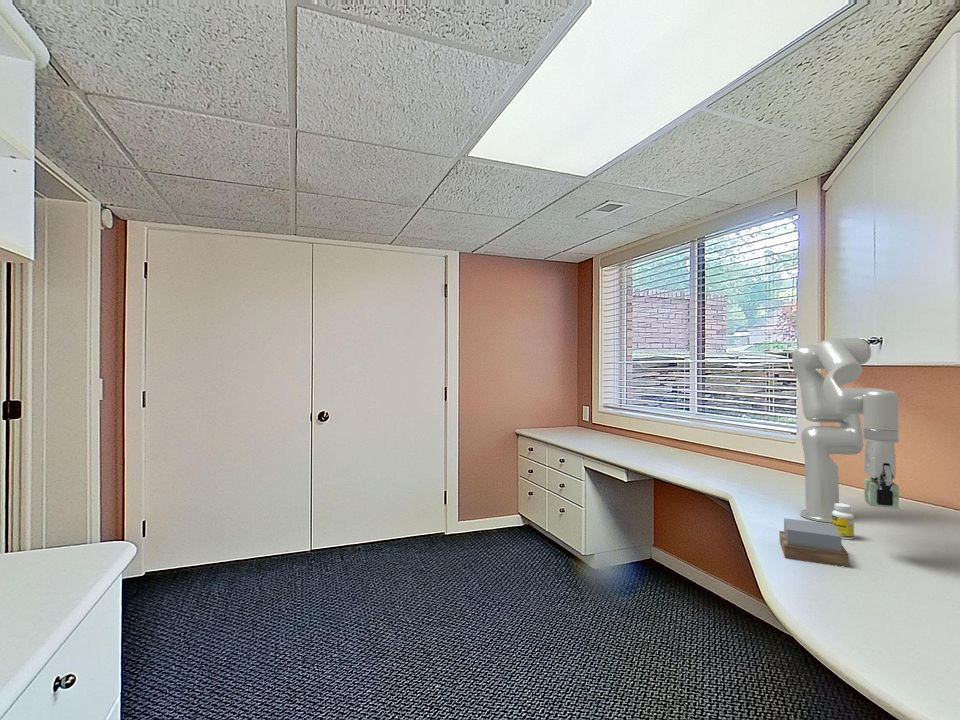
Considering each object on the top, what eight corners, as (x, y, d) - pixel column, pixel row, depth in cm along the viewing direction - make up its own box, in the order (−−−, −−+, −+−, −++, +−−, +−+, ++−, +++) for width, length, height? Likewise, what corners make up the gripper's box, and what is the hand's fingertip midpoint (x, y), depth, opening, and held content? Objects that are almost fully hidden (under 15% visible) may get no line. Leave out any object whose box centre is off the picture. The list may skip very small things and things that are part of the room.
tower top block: (784, 531, 144) (784, 518, 144) (834, 538, 138) (833, 524, 138) (787, 544, 133) (787, 529, 133) (841, 552, 128) (841, 536, 128)
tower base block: (779, 544, 145) (779, 530, 145) (837, 552, 139) (837, 537, 139) (785, 560, 132) (784, 545, 132) (848, 569, 126) (848, 554, 126)
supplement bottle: (827, 535, 151) (827, 503, 151) (839, 533, 153) (839, 501, 153) (846, 540, 146) (845, 507, 146) (858, 538, 148) (857, 506, 148)
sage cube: (864, 500, 138) (864, 478, 138) (891, 502, 135) (891, 481, 135) (870, 505, 132) (870, 483, 132) (898, 508, 129) (898, 486, 129)
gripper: (855, 430, 143) (856, 492, 143) (872, 439, 127) (872, 508, 127) (888, 432, 140) (888, 495, 140) (909, 441, 124) (909, 512, 124)
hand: (881, 501), depth 133 cm, fingers closed on sage cube, 6 cm apart
